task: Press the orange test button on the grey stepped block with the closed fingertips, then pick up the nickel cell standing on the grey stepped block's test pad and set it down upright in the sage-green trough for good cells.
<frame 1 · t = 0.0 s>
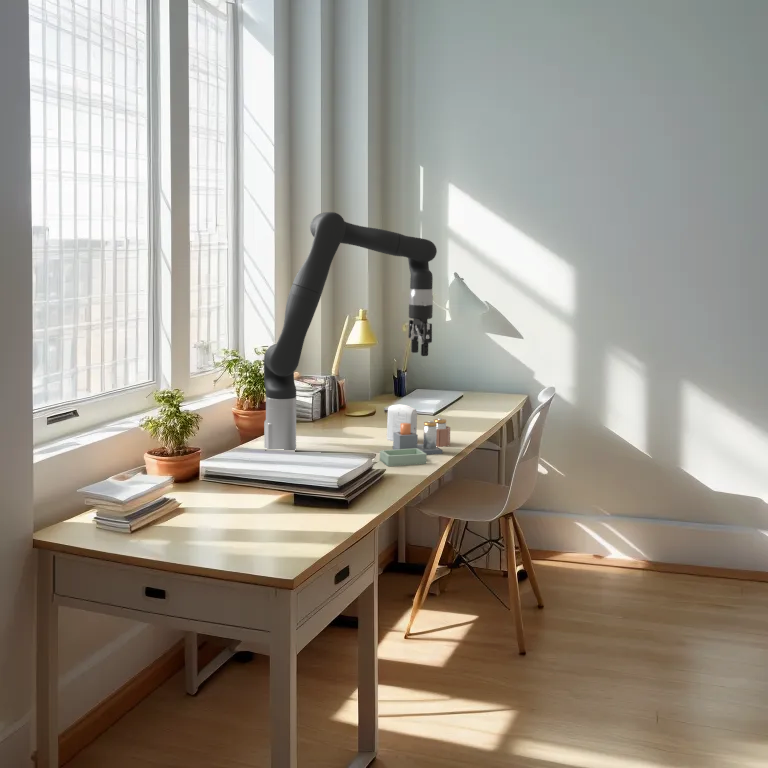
hand: (419, 354, 283), 29 cm above the table, tool pointing down, fingers open, 8 cm apart
cup: (439, 445, 285), on the table
button: (405, 431, 274), point 7 cm above the table, slide at 0.0 cm
cell: (429, 448, 274), point 2 cm above the table, touching grey stepped block
trough: (402, 462, 263), on the table
photo printer: (401, 442, 289), on the table
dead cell: (439, 444, 285), resting on cup
grey stepped block: (417, 452, 275), on the table
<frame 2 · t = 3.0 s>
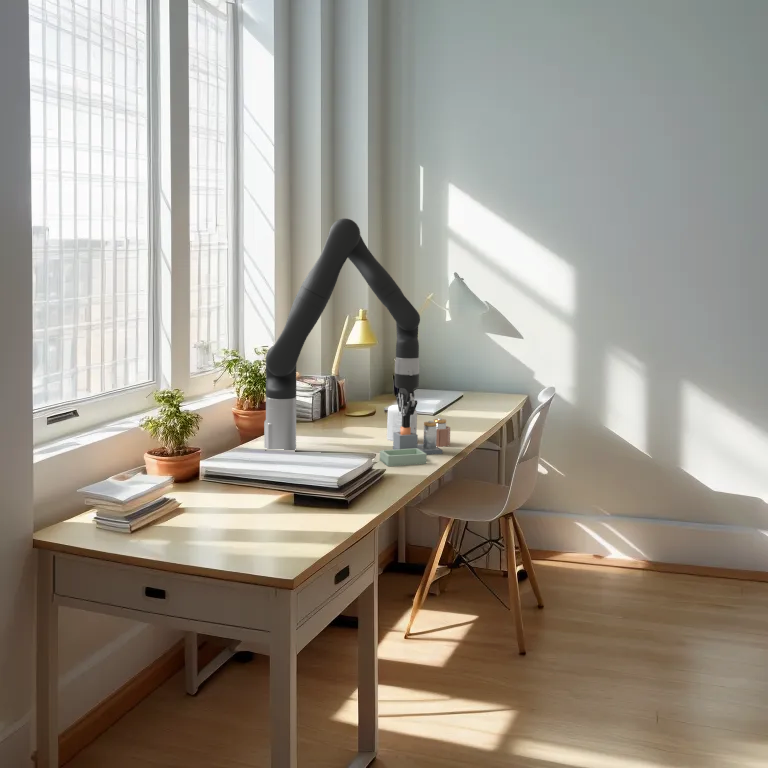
hand: (405, 427, 274), 8 cm above the table, tool pointing down, fingers closed
button: (405, 435, 274), point 5 cm above the table, slide at 1.0 cm, touching gripper
everything else where it was.
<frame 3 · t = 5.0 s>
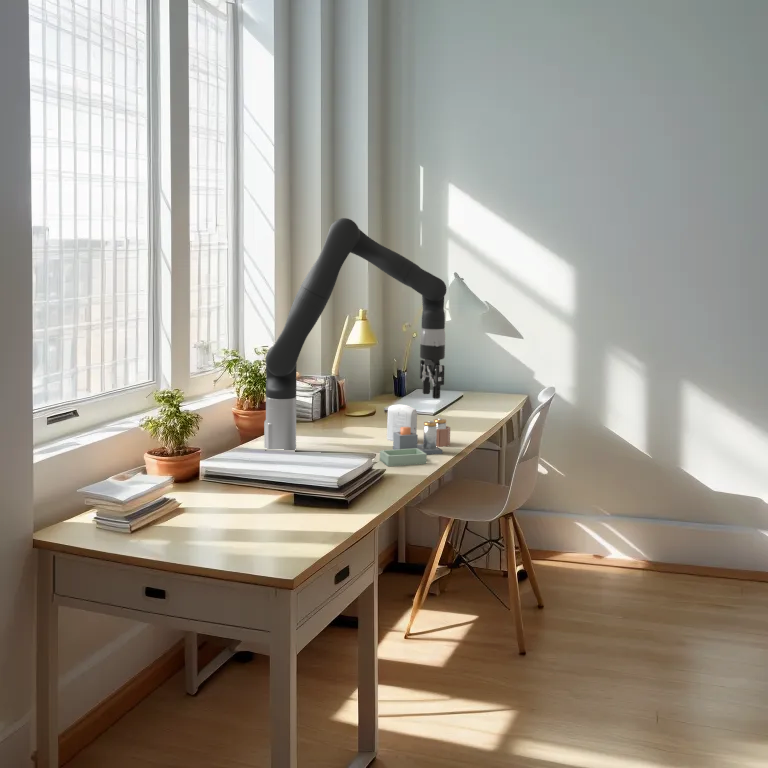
hand: (431, 396, 272), 18 cm above the table, tool pointing down, fingers open, 7 cm apart
button: (405, 435, 274), point 5 cm above the table, slide at 1.2 cm
everything else where it was.
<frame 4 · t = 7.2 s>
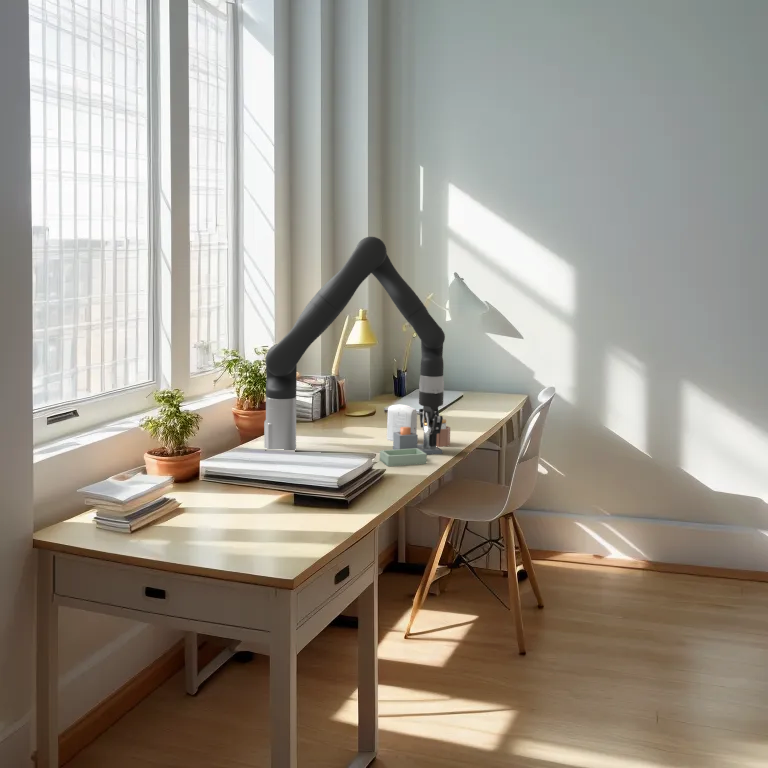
hand: (429, 444, 274), 3 cm above the table, tool pointing down, fingers closed on cell, 4 cm apart
cell: (429, 448, 274), point 2 cm above the table, touching grey stepped block, gripper
everything else where it was.
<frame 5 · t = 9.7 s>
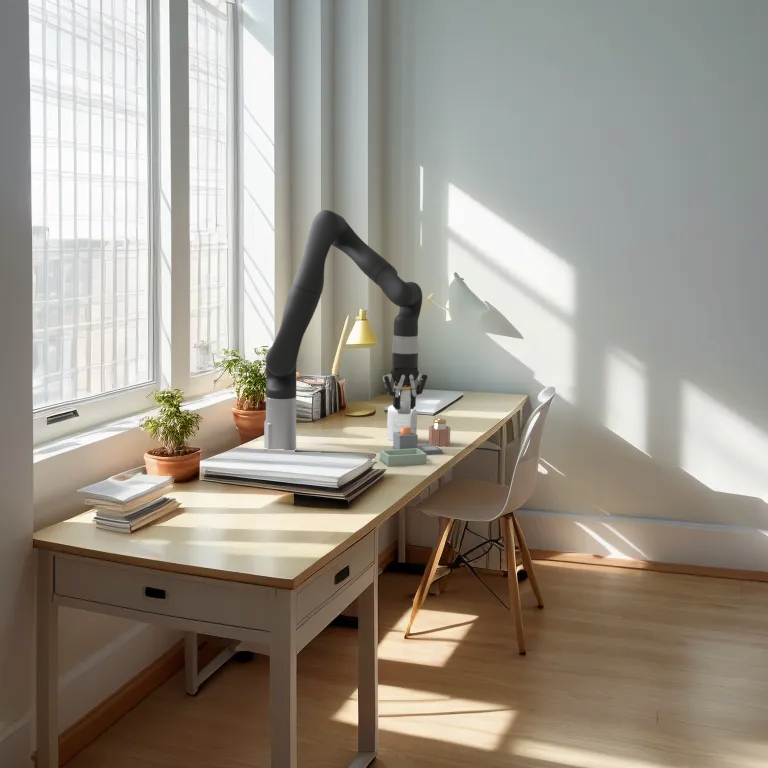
hand: (404, 408, 260), 16 cm above the table, tool pointing down, fingers closed on cell, 4 cm apart
cell: (404, 412, 260), point 15 cm above the table, touching gripper
everything else where it was.
when the fingers open (3 cm above the table, at t = 12.3 s): cell drops 1 cm, resting on trough.
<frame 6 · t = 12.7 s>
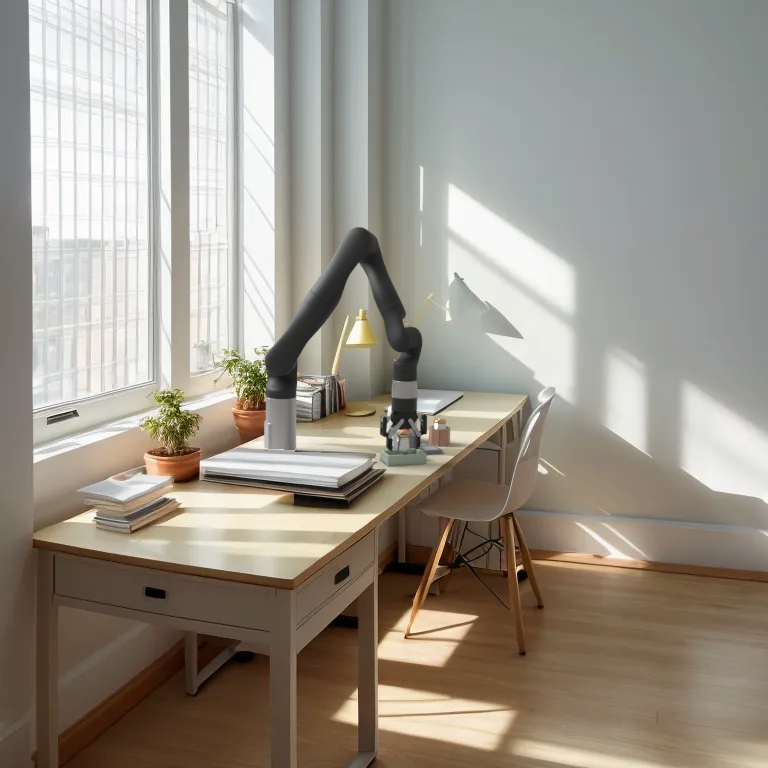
hand: (403, 449, 262), 4 cm above the table, tool pointing down, fingers open, 8 cm apart
cell: (402, 460, 263), point 1 cm above the table, touching trough
everything else where it was.
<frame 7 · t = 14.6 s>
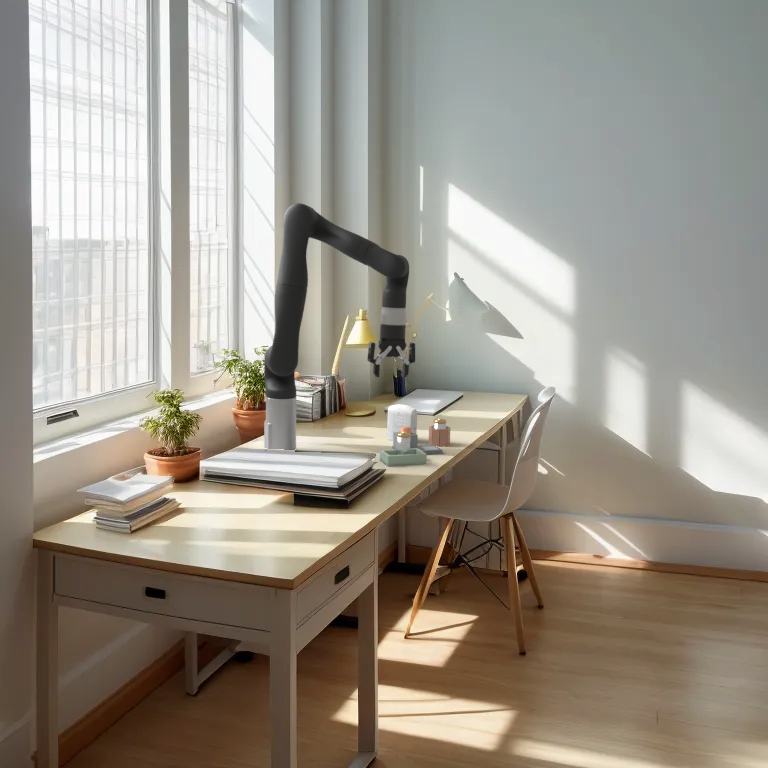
hand: (390, 376, 264), 25 cm above the table, tool pointing down, fingers open, 8 cm apart
nothing on the table moved.
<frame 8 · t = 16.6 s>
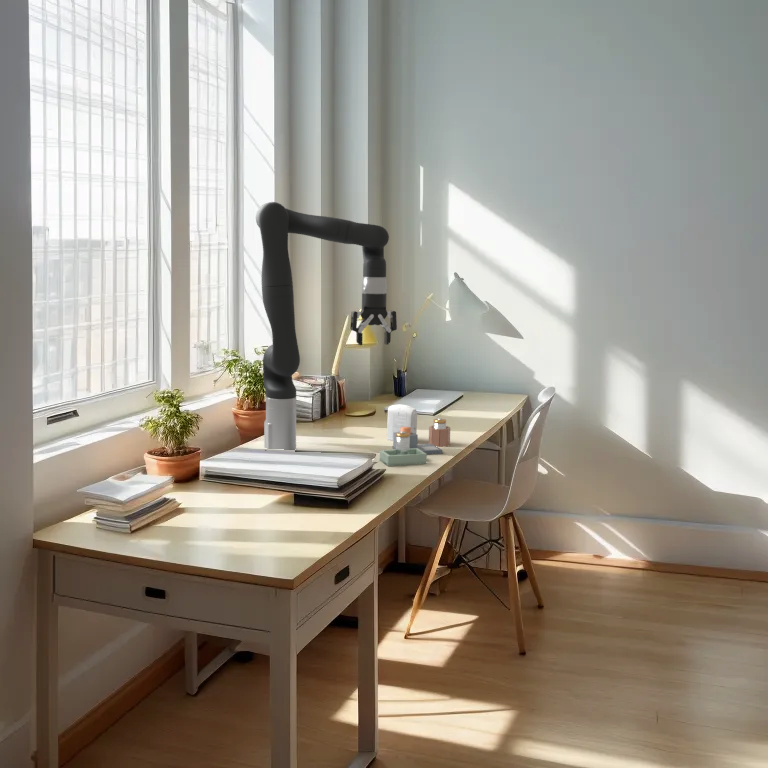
hand: (373, 344, 273), 33 cm above the table, tool pointing down, fingers open, 8 cm apart
nothing on the table moved.
at the end: cell inside the target area on the trough (0.0 cm from its centre), point 0.6 cm above the trough's base; cell tilted 1°; button slide at 1.2 cm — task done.
